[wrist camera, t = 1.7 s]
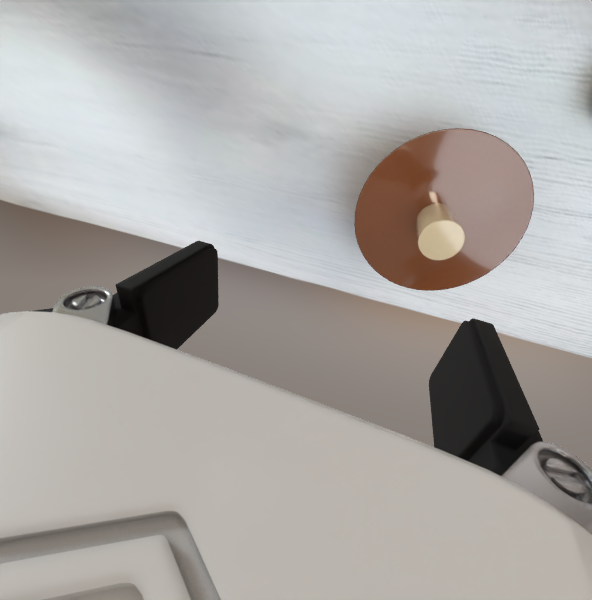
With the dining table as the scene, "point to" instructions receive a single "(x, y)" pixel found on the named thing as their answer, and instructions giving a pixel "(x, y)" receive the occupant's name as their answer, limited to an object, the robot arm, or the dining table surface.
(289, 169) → the dining table surface
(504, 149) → the lid
